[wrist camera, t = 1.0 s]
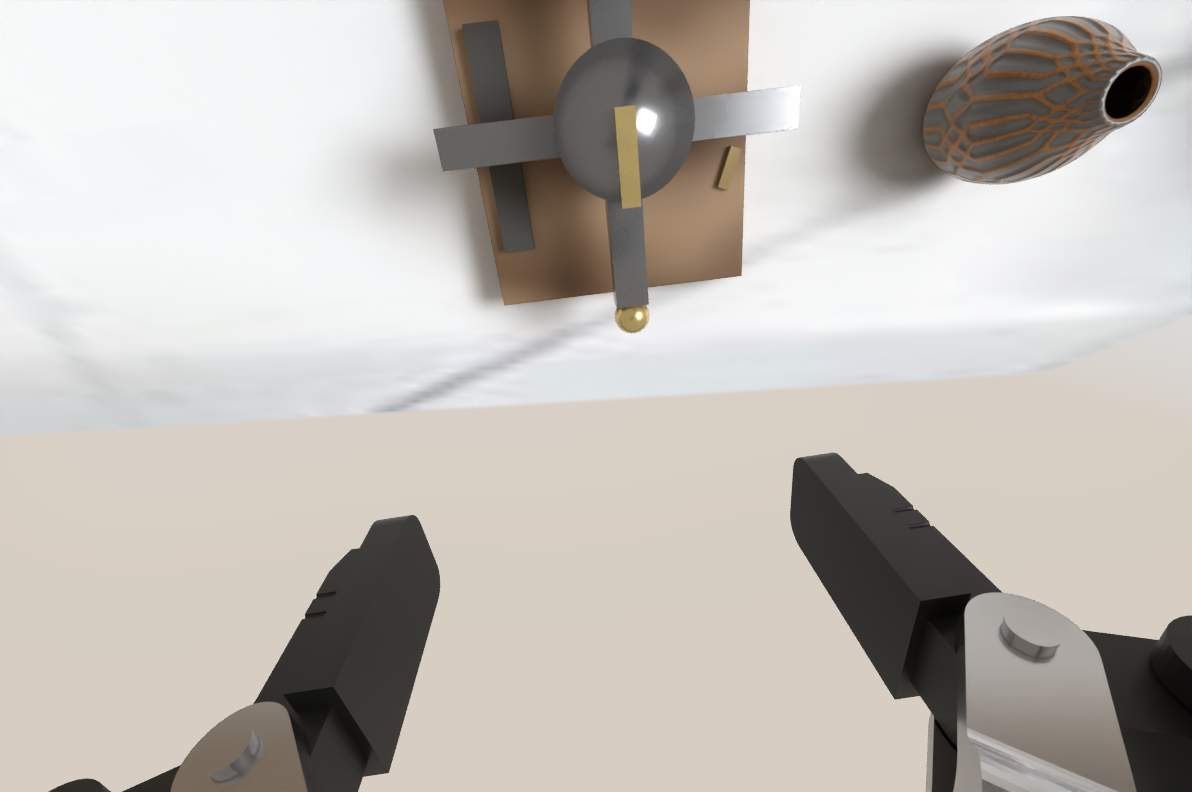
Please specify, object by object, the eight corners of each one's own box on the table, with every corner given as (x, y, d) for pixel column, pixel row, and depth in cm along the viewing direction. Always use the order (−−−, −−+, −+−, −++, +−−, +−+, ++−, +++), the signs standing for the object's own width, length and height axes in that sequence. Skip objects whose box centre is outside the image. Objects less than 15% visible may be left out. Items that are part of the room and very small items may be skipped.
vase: (920, 207, 28) (1058, 221, 20) (882, 96, 26) (1024, 65, 18) (1035, 132, 27) (1230, 117, 19) (1007, 7, 24) (1223, -71, 16)
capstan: (412, -52, 20) (355, -136, 14) (773, -93, 20) (853, -192, 15) (495, 331, 28) (478, 372, 22) (755, 298, 28) (804, 331, 22)
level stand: (442, -39, 22) (427, -65, 19) (737, -73, 22) (758, -103, 20) (507, 296, 29) (503, 308, 27) (730, 269, 29) (745, 278, 27)
